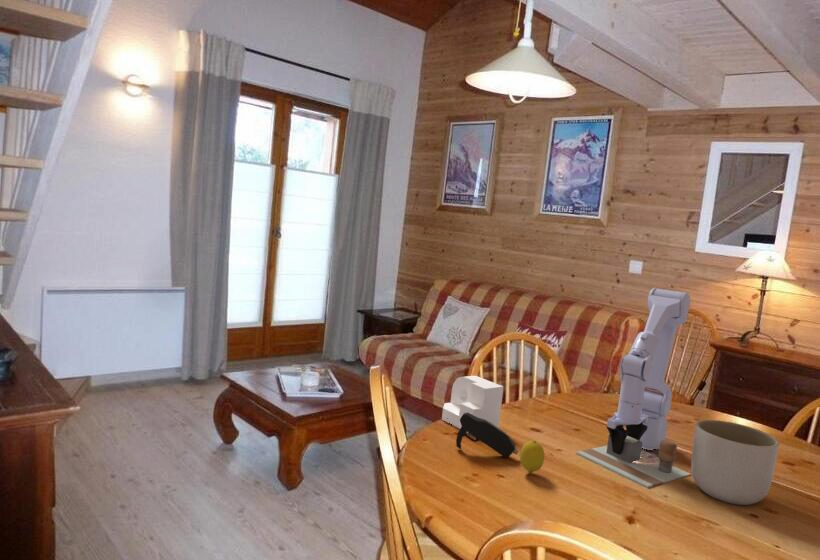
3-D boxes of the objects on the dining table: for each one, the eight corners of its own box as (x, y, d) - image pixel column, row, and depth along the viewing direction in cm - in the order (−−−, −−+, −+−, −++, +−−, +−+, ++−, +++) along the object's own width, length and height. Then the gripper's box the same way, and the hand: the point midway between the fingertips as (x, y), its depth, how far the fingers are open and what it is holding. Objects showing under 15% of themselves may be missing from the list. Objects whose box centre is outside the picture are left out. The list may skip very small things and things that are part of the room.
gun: (500, 478, 146) (522, 446, 144) (446, 441, 148) (467, 409, 146) (501, 473, 149) (523, 442, 147) (447, 437, 151) (468, 405, 149)
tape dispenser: (498, 429, 166) (503, 386, 165) (470, 434, 160) (475, 389, 159) (461, 411, 179) (465, 371, 178) (434, 415, 173) (438, 374, 172)
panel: (619, 445, 164) (619, 443, 164) (690, 476, 146) (690, 473, 146) (576, 454, 153) (576, 451, 153) (647, 488, 136) (647, 486, 136)
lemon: (543, 471, 140) (547, 439, 139) (540, 480, 135) (544, 446, 134) (520, 466, 142) (524, 434, 141) (516, 474, 137) (520, 441, 136)
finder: (617, 450, 157) (619, 431, 157) (639, 460, 152) (642, 440, 151) (606, 452, 155) (609, 433, 154) (629, 463, 149) (632, 442, 149)
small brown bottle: (662, 466, 149) (666, 439, 149) (675, 472, 146) (680, 445, 146) (653, 468, 147) (657, 441, 147) (667, 474, 144) (671, 447, 143)
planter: (768, 521, 125) (780, 453, 124) (681, 495, 134) (691, 431, 133) (769, 494, 140) (779, 433, 138) (690, 472, 149) (700, 414, 147)
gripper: (634, 394, 159) (627, 442, 161) (600, 398, 151) (593, 449, 152) (658, 402, 153) (650, 452, 155) (623, 407, 145) (616, 460, 147)
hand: (623, 451), depth 153 cm, fingers open, 5 cm apart
